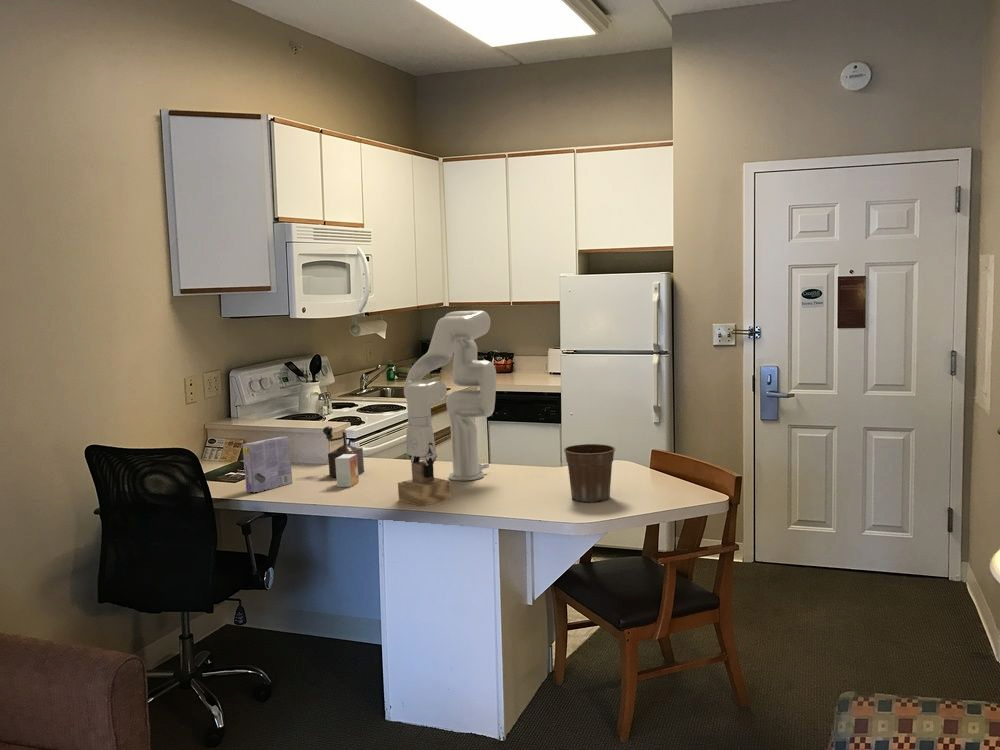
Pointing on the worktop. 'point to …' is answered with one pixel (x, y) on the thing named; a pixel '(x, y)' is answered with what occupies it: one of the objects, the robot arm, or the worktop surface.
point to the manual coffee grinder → (342, 452)
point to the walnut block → (420, 473)
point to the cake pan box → (267, 464)
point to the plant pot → (590, 471)
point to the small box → (347, 470)
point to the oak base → (424, 491)
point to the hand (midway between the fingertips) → (423, 475)
